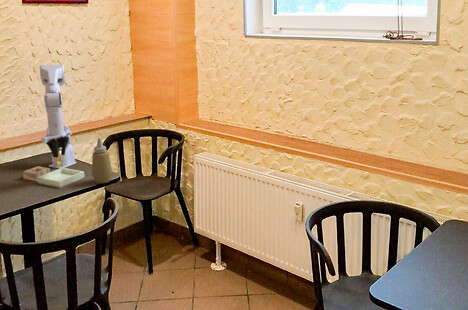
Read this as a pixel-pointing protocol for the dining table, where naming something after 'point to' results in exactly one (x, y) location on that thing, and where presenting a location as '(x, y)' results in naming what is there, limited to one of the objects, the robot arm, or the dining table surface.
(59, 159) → the pin
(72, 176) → the tray
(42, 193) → the dining table surface
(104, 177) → the squeeze bottle
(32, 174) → the lock block
